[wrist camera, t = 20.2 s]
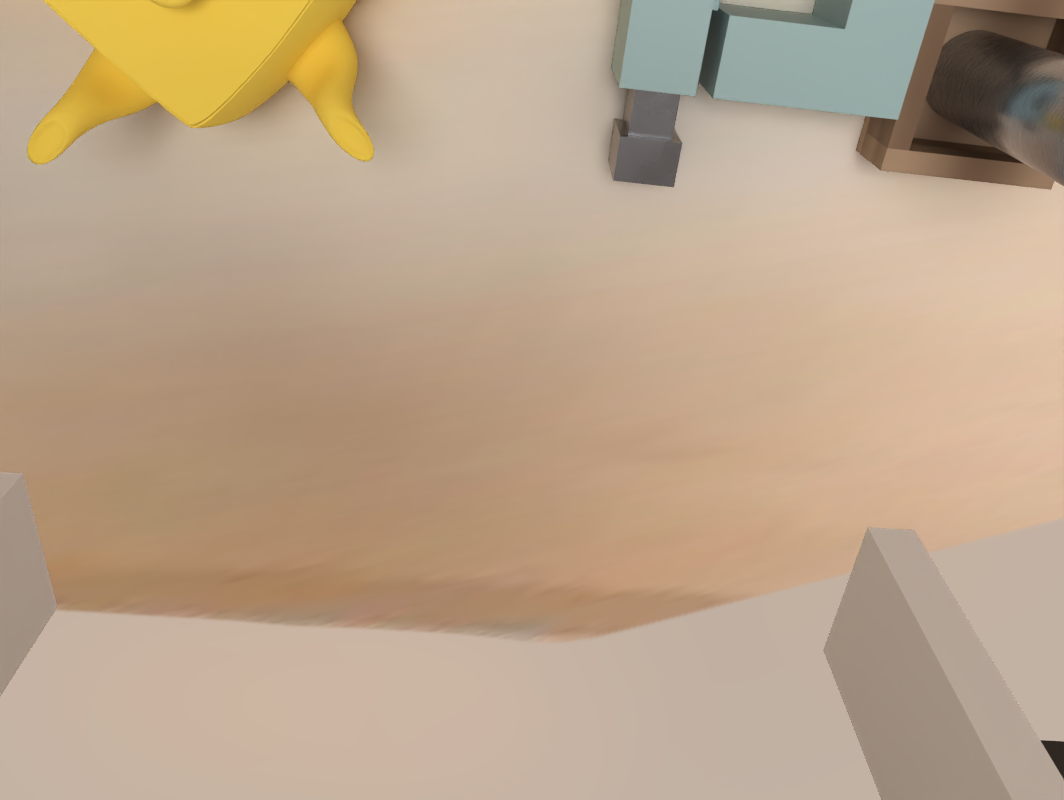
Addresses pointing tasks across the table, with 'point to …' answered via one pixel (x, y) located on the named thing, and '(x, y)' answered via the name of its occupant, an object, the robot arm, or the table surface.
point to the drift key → (646, 139)
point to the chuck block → (774, 52)
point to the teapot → (205, 65)
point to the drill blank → (1004, 96)
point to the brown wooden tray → (934, 142)
